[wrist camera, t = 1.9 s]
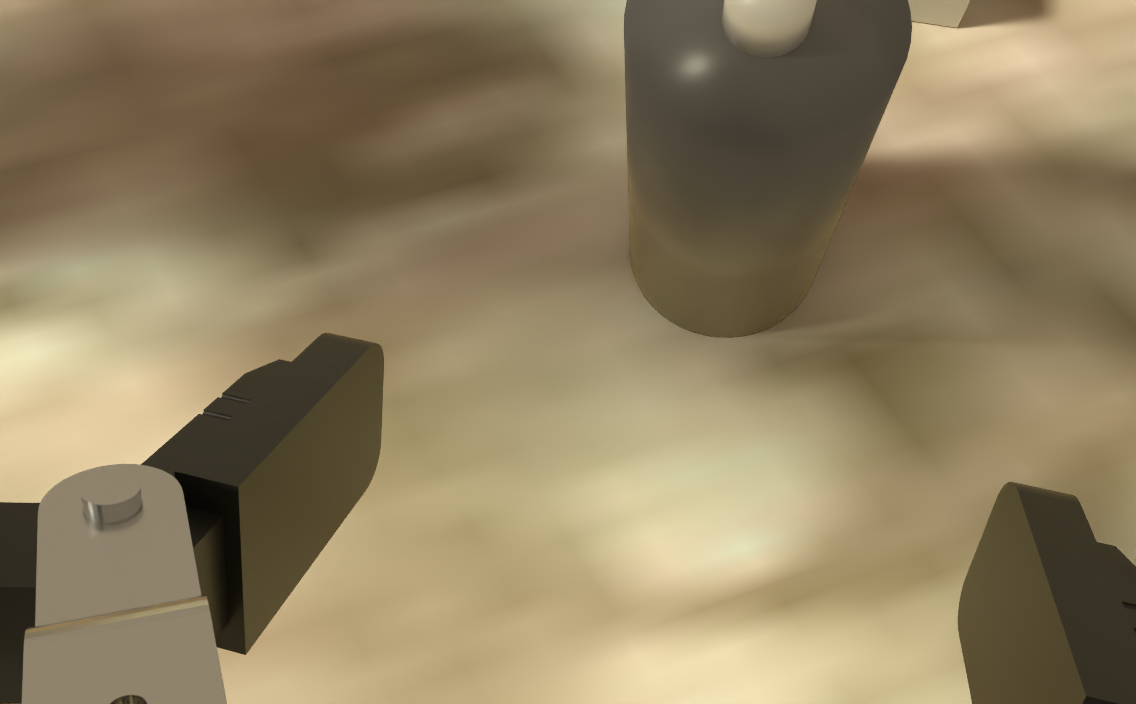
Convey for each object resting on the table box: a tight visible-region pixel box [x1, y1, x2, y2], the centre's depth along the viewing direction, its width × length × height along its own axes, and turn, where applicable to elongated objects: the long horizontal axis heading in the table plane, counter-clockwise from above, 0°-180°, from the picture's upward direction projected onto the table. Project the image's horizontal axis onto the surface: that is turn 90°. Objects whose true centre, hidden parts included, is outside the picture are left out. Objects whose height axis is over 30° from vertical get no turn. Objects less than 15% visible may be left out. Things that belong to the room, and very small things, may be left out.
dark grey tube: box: [624, 0, 912, 337], centre depth 22 cm, size 5×5×11 cm
